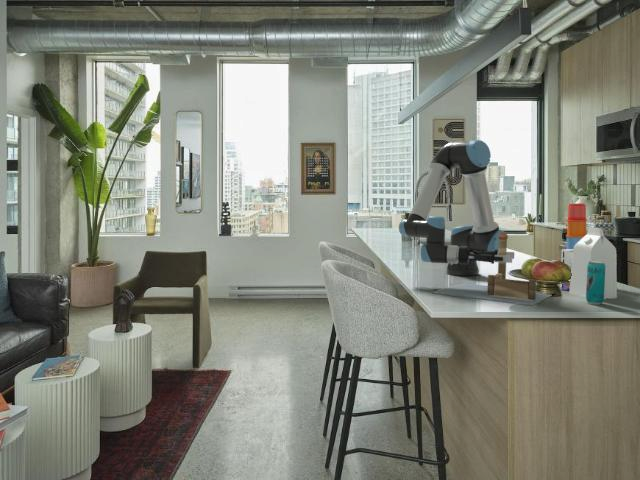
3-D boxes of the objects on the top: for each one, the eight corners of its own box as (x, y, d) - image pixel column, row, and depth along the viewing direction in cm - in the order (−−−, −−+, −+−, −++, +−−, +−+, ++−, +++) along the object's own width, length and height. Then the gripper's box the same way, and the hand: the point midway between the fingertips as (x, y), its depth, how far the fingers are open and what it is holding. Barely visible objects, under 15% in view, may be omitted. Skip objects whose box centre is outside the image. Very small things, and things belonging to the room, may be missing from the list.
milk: (616, 298, 205) (620, 228, 203) (588, 299, 204) (592, 229, 201) (595, 292, 217) (598, 226, 215) (569, 293, 215) (572, 227, 213)
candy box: (596, 289, 223) (598, 249, 222) (599, 292, 218) (600, 251, 216) (559, 287, 228) (561, 248, 226) (561, 290, 222) (562, 249, 221)
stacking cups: (591, 285, 233) (595, 203, 230) (565, 284, 235) (568, 203, 232) (586, 281, 243) (590, 203, 240) (561, 280, 245) (564, 203, 242)
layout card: (462, 283, 236) (462, 282, 236) (555, 294, 213) (555, 292, 213) (432, 293, 214) (432, 291, 214) (532, 305, 191) (532, 304, 191)
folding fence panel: (496, 293, 209) (498, 234, 207) (487, 293, 211) (489, 234, 209) (507, 287, 222) (508, 232, 220) (498, 286, 224) (499, 232, 222)
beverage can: (582, 302, 198) (584, 260, 197) (597, 301, 199) (599, 260, 197) (591, 305, 192) (593, 262, 191) (607, 305, 193) (609, 262, 192)
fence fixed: (488, 293, 210) (489, 274, 209) (536, 298, 199) (537, 279, 199) (486, 294, 208) (487, 275, 207) (534, 299, 197) (534, 280, 197)
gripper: (463, 260, 239) (514, 263, 231) (453, 267, 216) (510, 270, 208) (463, 243, 238) (515, 245, 230) (454, 248, 215) (511, 251, 207)
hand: (513, 257), depth 219 cm, fingers open, 13 cm apart
